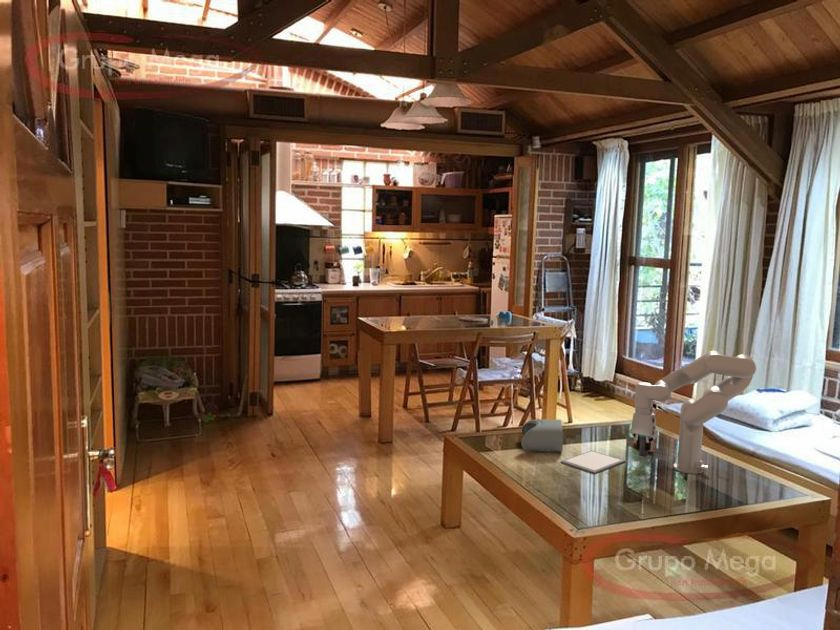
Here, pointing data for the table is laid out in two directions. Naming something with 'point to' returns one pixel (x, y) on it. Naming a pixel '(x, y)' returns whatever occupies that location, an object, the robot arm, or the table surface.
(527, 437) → the grey rounded block
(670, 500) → the table surface
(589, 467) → the notepad
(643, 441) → the marker
